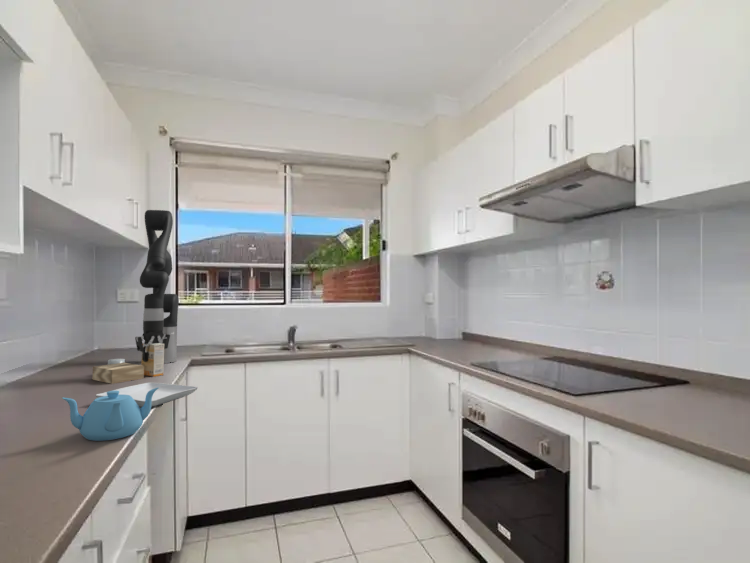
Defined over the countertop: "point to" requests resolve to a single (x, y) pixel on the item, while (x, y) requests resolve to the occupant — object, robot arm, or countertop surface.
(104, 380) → the plate
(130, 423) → the teapot
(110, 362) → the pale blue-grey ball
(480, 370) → the countertop surface
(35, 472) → the countertop surface
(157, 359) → the supplement box
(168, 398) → the salad plate
